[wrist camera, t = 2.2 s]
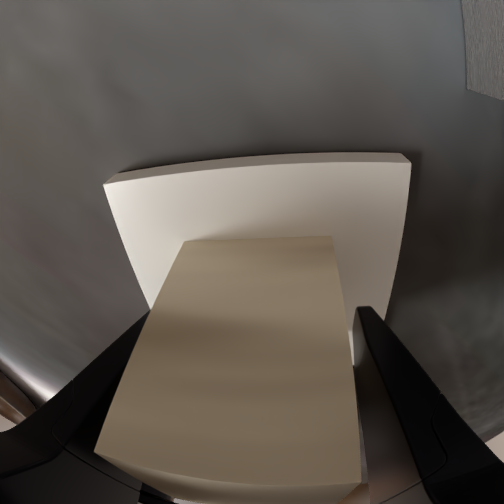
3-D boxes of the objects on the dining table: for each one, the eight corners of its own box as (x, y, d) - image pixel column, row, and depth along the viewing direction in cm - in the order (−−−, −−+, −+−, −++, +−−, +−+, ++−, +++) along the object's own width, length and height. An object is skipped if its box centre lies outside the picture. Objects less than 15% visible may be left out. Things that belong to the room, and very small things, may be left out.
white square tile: (368, 348, 12) (371, 363, 11) (181, 348, 13) (176, 362, 12) (401, 153, 7) (411, 162, 6) (116, 173, 8) (103, 184, 8)
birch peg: (325, 335, 10) (329, 509, 5) (211, 335, 11) (173, 497, 6) (331, 235, 8) (361, 481, 3) (183, 241, 8) (93, 451, 4)
